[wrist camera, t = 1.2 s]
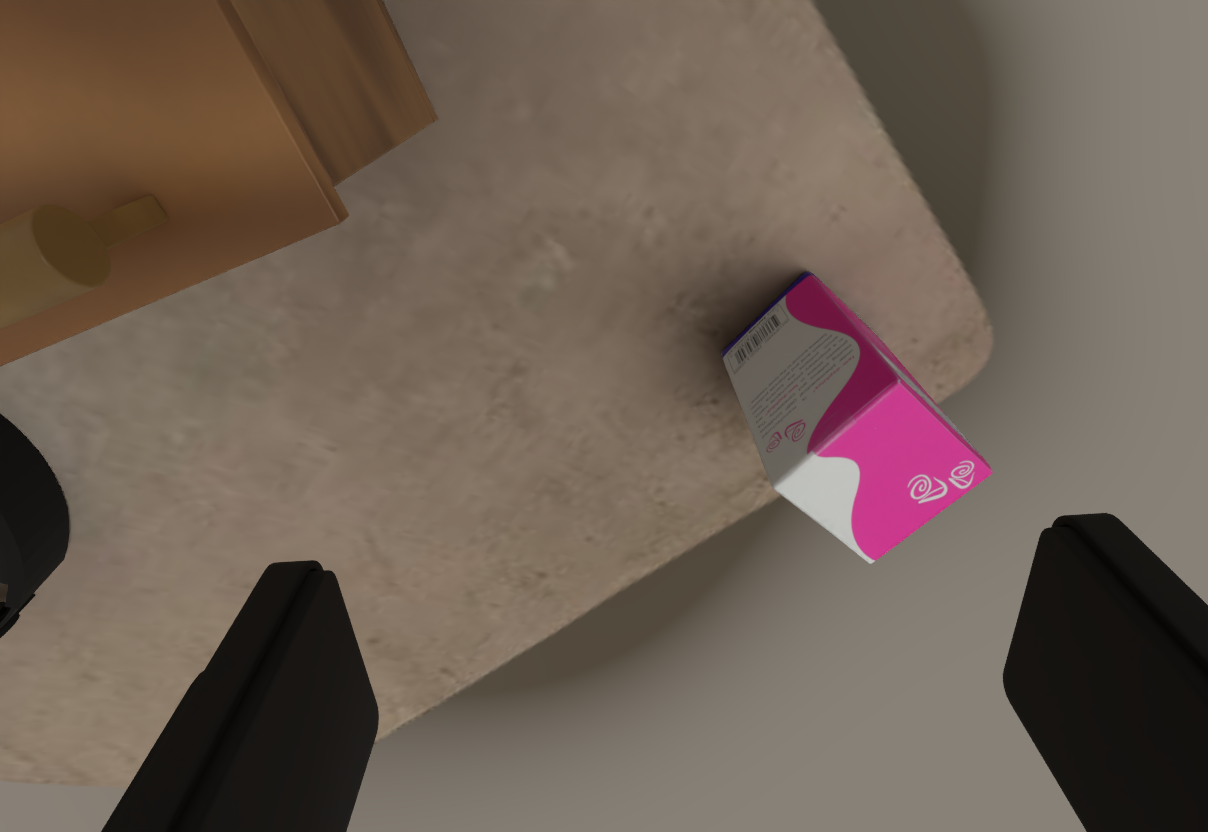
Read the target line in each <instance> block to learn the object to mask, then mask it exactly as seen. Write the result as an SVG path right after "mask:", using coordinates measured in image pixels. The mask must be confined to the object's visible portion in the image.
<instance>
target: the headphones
mask: <svg viewBox="0 0 1208 832" xmlns="http://www.w3.org/2000/svg"><path fill="white" fill-rule="evenodd" d="M68 537H69V516H68V511H67V506H66V503H65V500H64V497H63V494H62V492H61V490H60V488H59V485H58V483H57V481H56V479H55V477H54V475H53V473H52V471H51V470H50V468H49V466H48V465H47V463H46V462H45V460H44V459H43V457H42V456H41V454H40V453H39V452H38V451H37V450H36V448H35V447H34V446H33V445H32V444H31V443H30V441H29V440H28V439H27V438H26V437H25V436H24V435H23V434H22V433H21V432H20V431H19V430H18V429H17V428H16V427H15V426H14V425H13V424H11V423H10V422H9V421H8V420H7V419H6V418H4V417H3V416H2V415H1V414H0V583H3V584H8V591H7V596H6V602H0V638H1V637H2V636H3V635H4V634H5V633H6V632H7V631H8V630H9V629H10V628H11V627H12V626H13V625H14V624H15V623H16V621H17V620H18V619H19V616H20V615H19V614H18V613H19V612H20V611H21V610H22V609H23V608H24V607H25V606H26V605H27V604H28V603H29V602H30V601H31V600H32V598H33V597H34V596H35V594H34V592H35V591H36V590H37V589H38V588H39V586H40V585H41V584H42V583H43V582H44V581H45V580H46V579H47V578H48V576H49V575H50V574H51V573H52V572H53V571H54V570H55V569H56V568H57V566H58V565H59V564H60V563H61V562H62V561H63V560H64V558H65V554H66V551H67V547H68Z"/></svg>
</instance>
